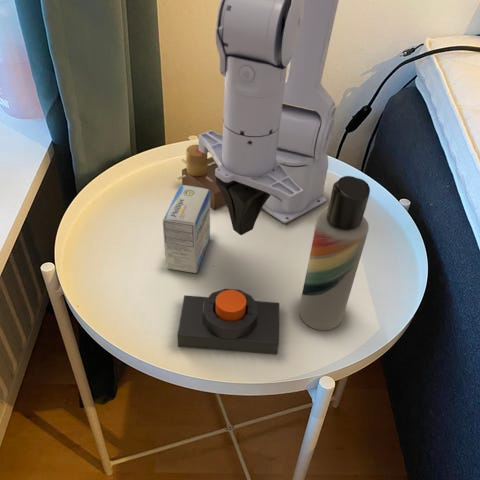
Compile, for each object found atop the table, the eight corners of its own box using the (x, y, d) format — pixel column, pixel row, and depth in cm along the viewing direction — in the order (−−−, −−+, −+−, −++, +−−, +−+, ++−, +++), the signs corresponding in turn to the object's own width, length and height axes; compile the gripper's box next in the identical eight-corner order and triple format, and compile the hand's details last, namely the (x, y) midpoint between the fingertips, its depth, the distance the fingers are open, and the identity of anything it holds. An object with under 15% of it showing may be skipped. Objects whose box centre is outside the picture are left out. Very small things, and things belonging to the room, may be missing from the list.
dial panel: (221, 159, 94) (222, 142, 91) (261, 187, 89) (263, 170, 87) (164, 184, 88) (163, 167, 86) (204, 215, 83) (204, 198, 81)
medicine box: (196, 275, 75) (196, 224, 68) (165, 269, 75) (161, 218, 68) (210, 238, 80) (211, 188, 73) (180, 233, 80) (179, 182, 74)
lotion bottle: (320, 292, 74) (351, 162, 59) (351, 318, 71) (392, 188, 56) (289, 311, 71) (313, 179, 56) (319, 338, 68) (353, 208, 53)
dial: (182, 169, 86) (181, 147, 83) (198, 162, 87) (198, 140, 84) (195, 178, 84) (195, 156, 81) (211, 171, 86) (211, 149, 83)
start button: (214, 320, 65) (214, 310, 63) (216, 298, 67) (217, 288, 66) (244, 323, 65) (245, 313, 63) (246, 300, 67) (247, 290, 66)
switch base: (177, 346, 66) (176, 325, 63) (184, 306, 71) (183, 284, 68) (276, 354, 66) (280, 333, 63) (277, 314, 71) (280, 292, 68)
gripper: (175, 104, 56) (178, 211, 67) (273, 168, 50) (260, 277, 60) (227, 86, 60) (223, 191, 70) (325, 143, 53) (304, 250, 63)
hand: (243, 229), depth 65 cm, fingers closed
